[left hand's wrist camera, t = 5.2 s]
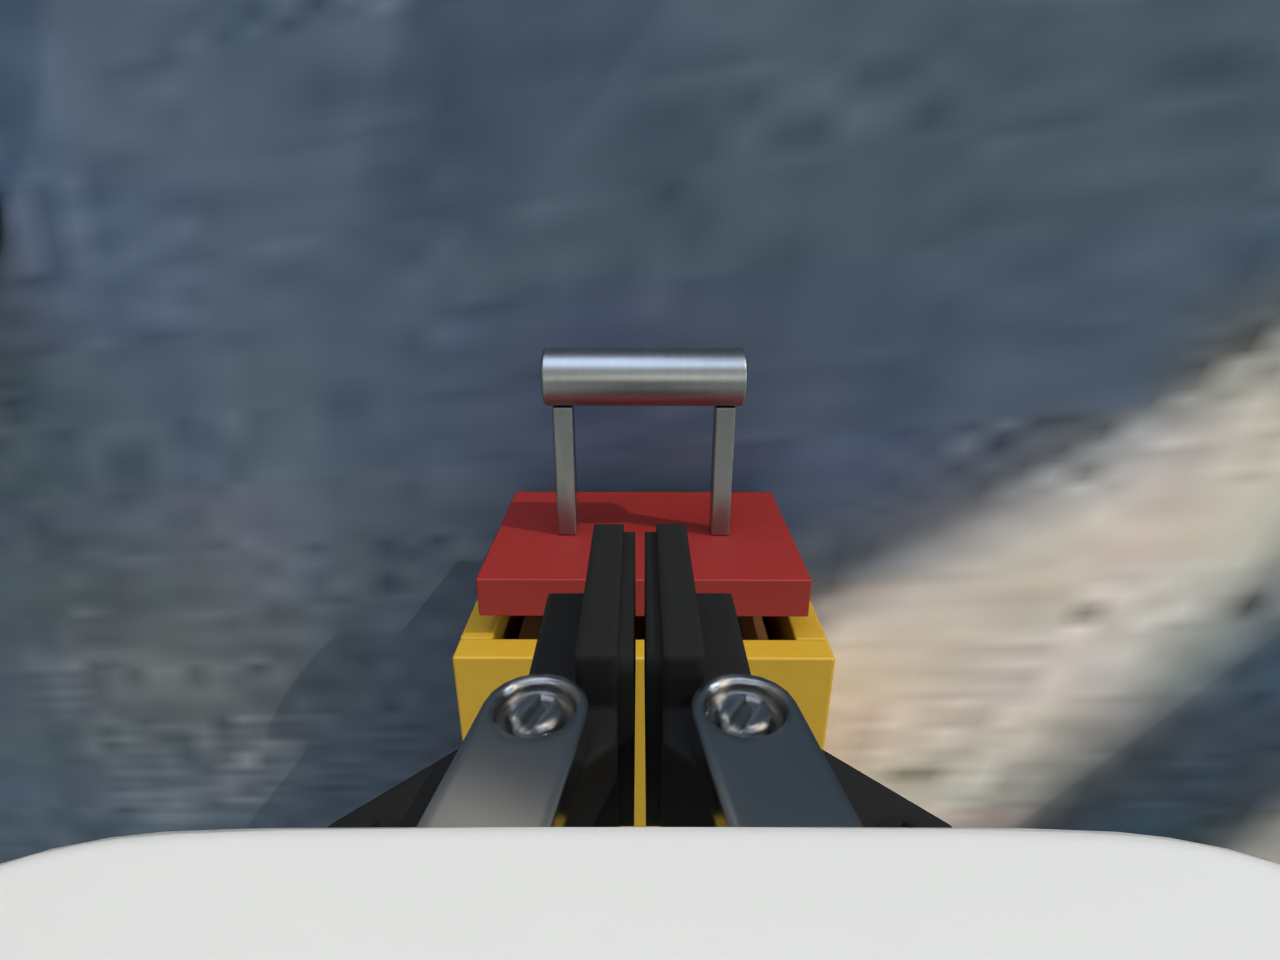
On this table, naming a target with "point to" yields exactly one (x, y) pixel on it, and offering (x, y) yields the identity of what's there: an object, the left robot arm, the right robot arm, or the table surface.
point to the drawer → (645, 497)
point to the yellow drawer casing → (784, 659)
